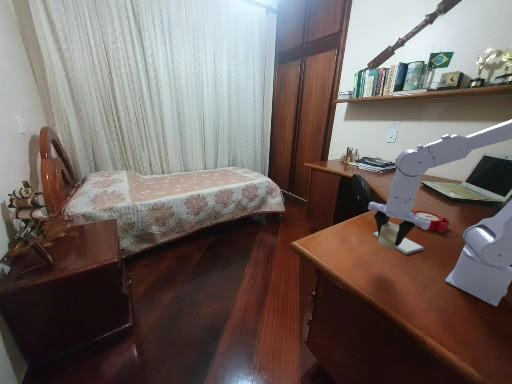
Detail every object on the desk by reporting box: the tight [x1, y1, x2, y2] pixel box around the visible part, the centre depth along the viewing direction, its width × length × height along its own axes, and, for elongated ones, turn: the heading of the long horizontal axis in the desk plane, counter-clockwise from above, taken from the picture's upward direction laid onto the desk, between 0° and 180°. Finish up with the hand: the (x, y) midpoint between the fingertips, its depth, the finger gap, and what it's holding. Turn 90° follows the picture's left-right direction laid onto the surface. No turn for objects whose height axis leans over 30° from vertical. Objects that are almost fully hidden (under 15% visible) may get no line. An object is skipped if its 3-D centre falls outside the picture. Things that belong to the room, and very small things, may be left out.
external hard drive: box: [372, 231, 424, 255], centre depth 72 cm, size 2×8×12 cm
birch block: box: [376, 221, 399, 251], centre depth 59 cm, size 4×4×6 cm
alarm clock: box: [411, 210, 458, 233], centre depth 84 cm, size 10×6×15 cm
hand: (389, 240), depth 59 cm, fingers closed on birch block, 4 cm apart
